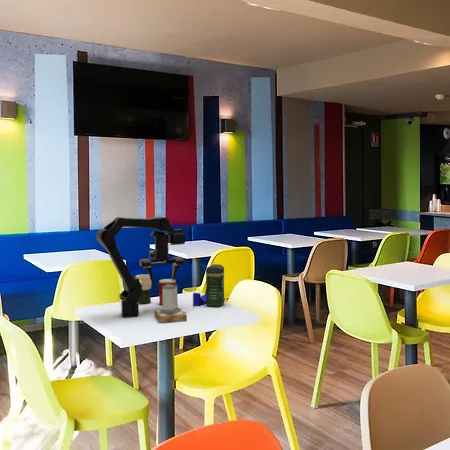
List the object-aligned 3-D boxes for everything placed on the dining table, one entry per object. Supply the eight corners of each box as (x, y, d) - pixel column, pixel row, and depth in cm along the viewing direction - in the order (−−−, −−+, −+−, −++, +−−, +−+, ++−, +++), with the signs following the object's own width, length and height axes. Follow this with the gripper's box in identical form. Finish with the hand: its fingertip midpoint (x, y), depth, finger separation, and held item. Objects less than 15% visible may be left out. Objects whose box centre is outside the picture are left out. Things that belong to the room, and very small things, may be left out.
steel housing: (159, 313, 220) (159, 286, 220) (166, 309, 226) (166, 283, 226) (173, 314, 218) (173, 287, 217) (180, 311, 224) (180, 284, 223)
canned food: (163, 306, 245) (162, 282, 244) (156, 303, 252) (156, 279, 251) (178, 304, 249) (178, 281, 248) (172, 301, 256) (171, 278, 255)
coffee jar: (221, 307, 242) (220, 266, 240) (204, 307, 244) (203, 266, 242) (226, 303, 251) (225, 263, 250) (209, 302, 253) (209, 262, 252)
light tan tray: (159, 323, 216) (159, 316, 215) (154, 317, 226) (154, 310, 226) (186, 320, 219) (186, 314, 219) (180, 314, 229) (180, 308, 229)
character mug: (141, 300, 259) (140, 273, 258) (155, 300, 258) (154, 273, 257) (132, 305, 249) (131, 277, 248) (146, 305, 247) (146, 277, 246)
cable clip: (204, 300, 257) (204, 288, 257) (212, 301, 255) (212, 289, 254) (190, 305, 247) (190, 292, 246) (198, 307, 244) (198, 293, 244)
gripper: (178, 243, 245) (179, 277, 246) (137, 244, 239) (138, 279, 240) (184, 245, 234) (185, 281, 236) (141, 247, 229) (142, 284, 230)
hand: (162, 281), depth 236 cm, fingers open, 9 cm apart
